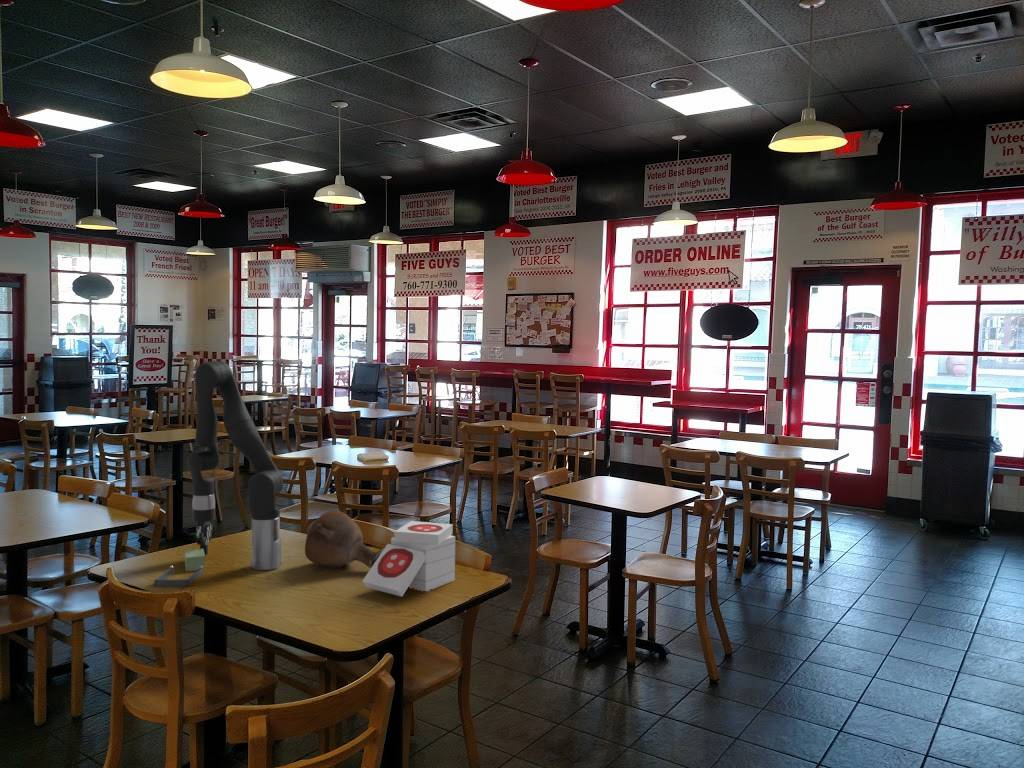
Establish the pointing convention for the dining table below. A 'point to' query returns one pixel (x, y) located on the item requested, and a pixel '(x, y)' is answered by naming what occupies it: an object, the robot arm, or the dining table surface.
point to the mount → (176, 582)
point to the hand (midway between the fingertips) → (204, 554)
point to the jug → (337, 542)
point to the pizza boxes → (415, 559)
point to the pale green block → (194, 559)
